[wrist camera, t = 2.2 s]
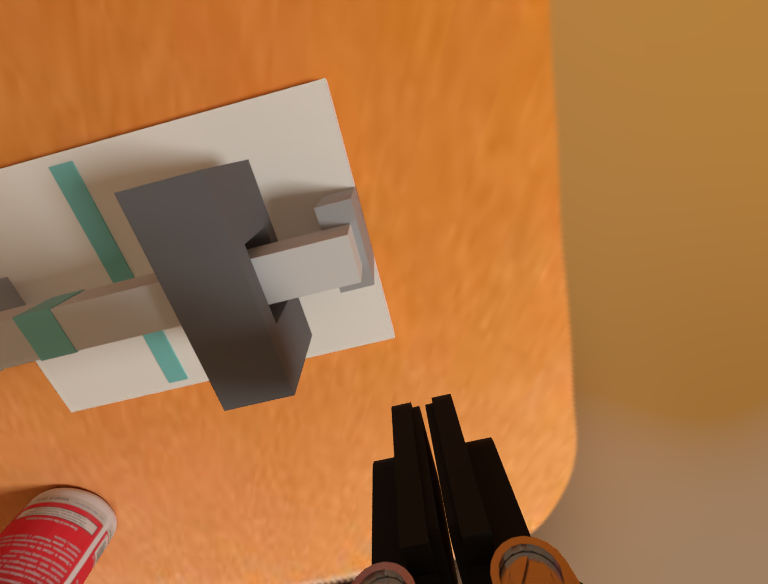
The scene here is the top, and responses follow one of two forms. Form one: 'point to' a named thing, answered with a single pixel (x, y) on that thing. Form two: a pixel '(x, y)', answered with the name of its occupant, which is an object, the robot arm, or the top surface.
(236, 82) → the top surface
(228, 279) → the collar
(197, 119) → the rail stand
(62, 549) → the pill bottle
